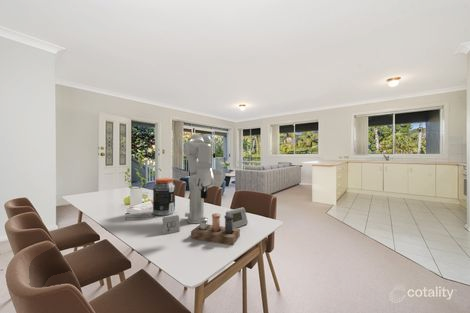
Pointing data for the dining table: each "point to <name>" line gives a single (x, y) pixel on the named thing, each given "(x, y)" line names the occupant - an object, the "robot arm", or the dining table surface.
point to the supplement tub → (164, 197)
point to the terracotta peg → (216, 222)
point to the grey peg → (203, 223)
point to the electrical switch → (171, 224)
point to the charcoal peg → (228, 224)
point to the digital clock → (238, 217)
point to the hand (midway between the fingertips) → (203, 198)
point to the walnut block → (215, 235)
